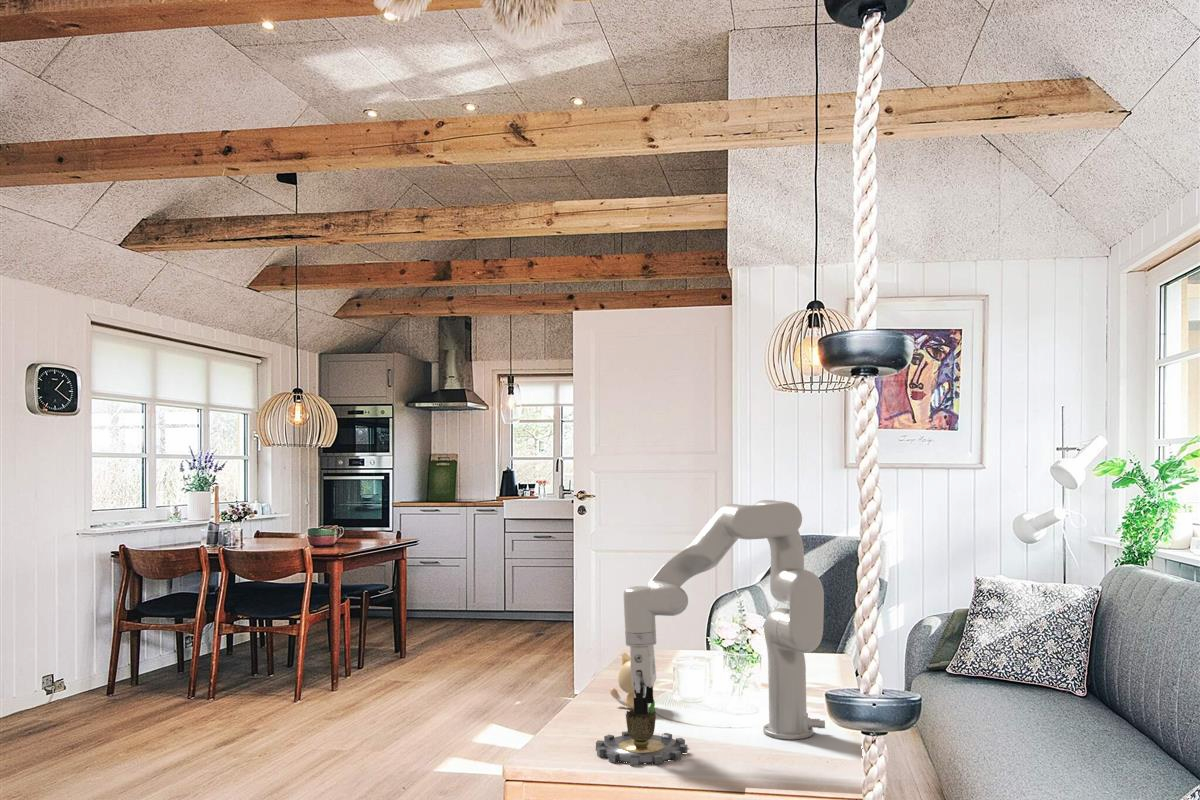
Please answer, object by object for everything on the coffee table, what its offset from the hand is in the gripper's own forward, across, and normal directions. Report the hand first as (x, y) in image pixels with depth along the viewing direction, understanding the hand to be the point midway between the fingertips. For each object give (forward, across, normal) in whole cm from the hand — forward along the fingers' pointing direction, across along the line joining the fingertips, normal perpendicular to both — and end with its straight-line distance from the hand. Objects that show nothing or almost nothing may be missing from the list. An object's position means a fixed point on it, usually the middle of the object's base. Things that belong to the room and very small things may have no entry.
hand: (644, 708), depth 239 cm
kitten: (+11, +38, +8) cm, 41 cm away
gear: (+10, -1, +1) cm, 10 cm away
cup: (+9, -1, +1) cm, 9 cm away
